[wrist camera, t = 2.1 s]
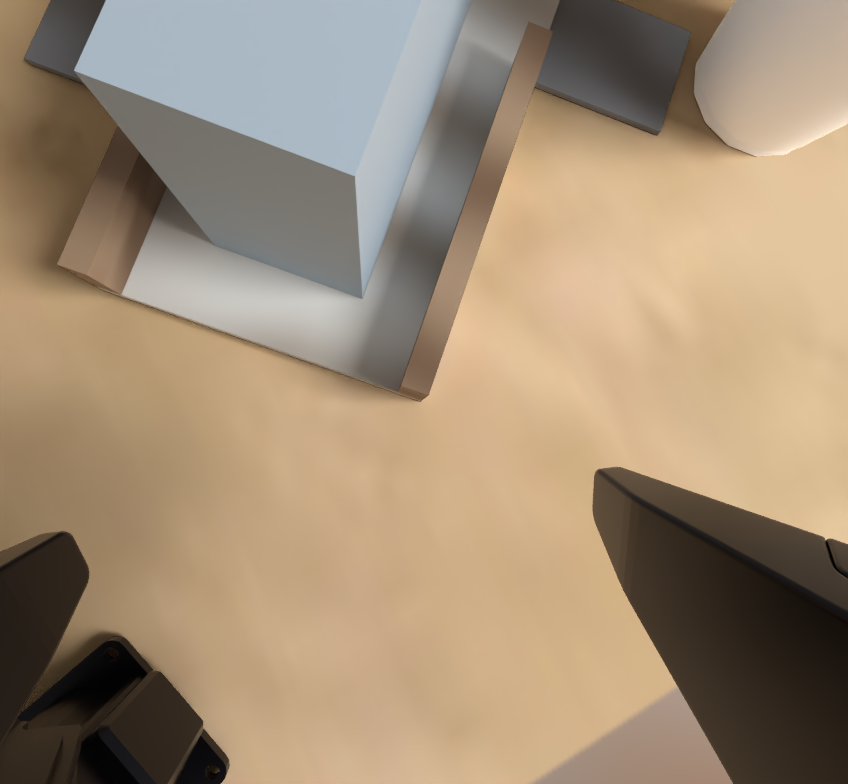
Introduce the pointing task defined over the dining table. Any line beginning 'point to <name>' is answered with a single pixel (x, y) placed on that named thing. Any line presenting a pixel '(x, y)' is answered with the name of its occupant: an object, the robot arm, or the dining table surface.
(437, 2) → the slate box
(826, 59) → the foam cup
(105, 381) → the dining table surface
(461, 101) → the lane
